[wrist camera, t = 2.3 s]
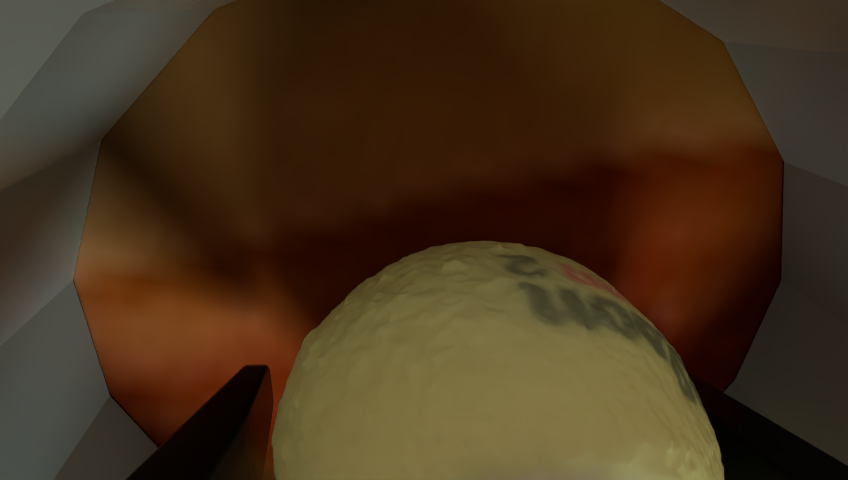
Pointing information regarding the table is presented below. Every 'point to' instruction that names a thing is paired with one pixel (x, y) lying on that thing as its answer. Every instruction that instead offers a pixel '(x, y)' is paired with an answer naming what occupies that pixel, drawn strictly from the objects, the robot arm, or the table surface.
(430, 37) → the table surface
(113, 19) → the gray open ring
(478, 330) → the tennis ball
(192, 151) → the table surface
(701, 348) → the table surface
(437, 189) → the table surface
